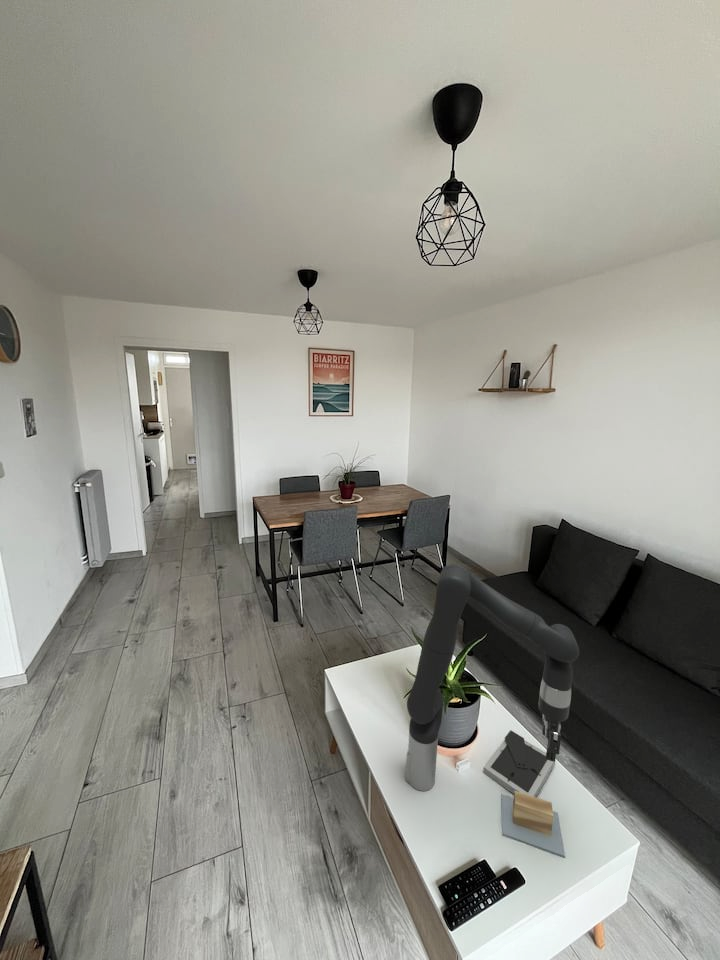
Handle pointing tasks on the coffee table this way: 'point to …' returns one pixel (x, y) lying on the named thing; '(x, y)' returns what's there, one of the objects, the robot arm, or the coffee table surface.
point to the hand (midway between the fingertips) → (548, 746)
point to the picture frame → (519, 765)
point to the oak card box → (532, 813)
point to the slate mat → (531, 831)
